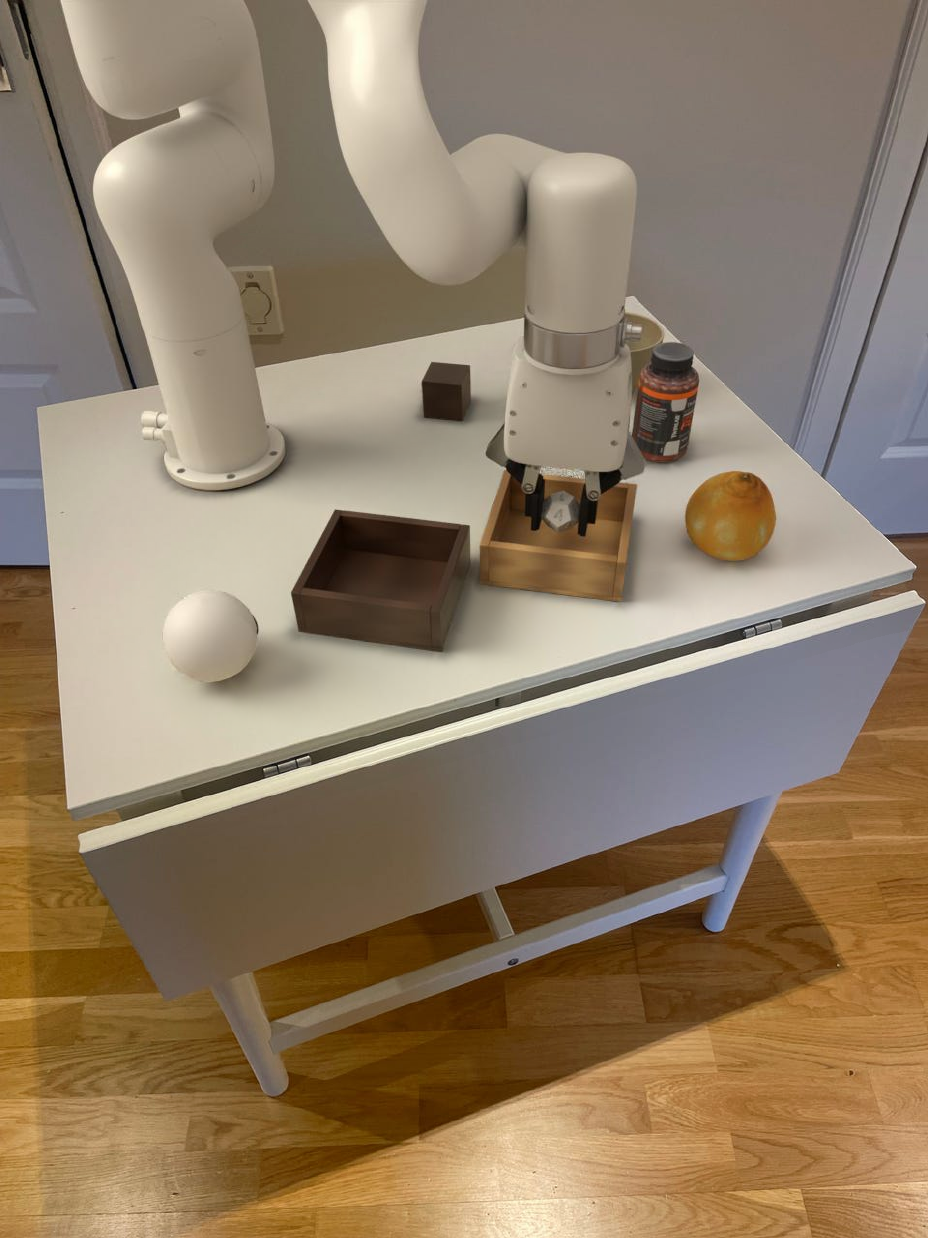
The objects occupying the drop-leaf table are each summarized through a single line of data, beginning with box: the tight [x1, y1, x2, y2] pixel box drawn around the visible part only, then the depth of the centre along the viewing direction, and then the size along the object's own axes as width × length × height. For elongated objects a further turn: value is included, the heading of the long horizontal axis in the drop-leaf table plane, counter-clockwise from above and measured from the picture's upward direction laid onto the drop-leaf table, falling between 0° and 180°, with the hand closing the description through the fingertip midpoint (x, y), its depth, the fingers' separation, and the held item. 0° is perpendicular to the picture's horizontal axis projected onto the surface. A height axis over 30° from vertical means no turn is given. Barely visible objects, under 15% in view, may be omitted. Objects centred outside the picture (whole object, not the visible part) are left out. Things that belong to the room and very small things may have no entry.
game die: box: [541, 491, 580, 533], centre depth 81 cm, size 4×4×3 cm
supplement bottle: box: [631, 341, 700, 463], centre depth 93 cm, size 6×6×11 cm
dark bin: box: [290, 509, 472, 653], centre depth 79 cm, size 13×12×4 cm
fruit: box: [684, 470, 777, 562], centre depth 83 cm, size 8×8×8 cm
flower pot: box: [624, 311, 665, 394], centre depth 104 cm, size 10×10×7 cm
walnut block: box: [421, 361, 472, 422], centre depth 102 cm, size 4×4×4 cm
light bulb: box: [162, 589, 259, 683], centre depth 73 cm, size 10×7×7 cm
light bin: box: [479, 469, 638, 603], centre depth 83 cm, size 13×12×4 cm
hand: (560, 522), depth 82 cm, fingers closed on game die, 3 cm apart
